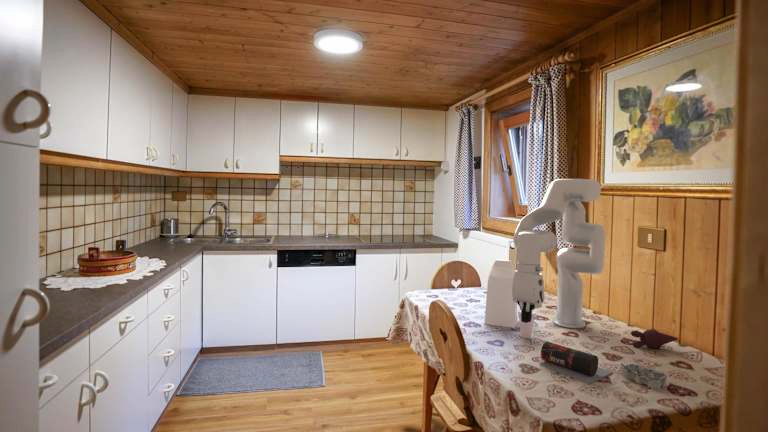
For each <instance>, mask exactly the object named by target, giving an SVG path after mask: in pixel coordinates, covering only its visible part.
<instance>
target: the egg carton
mask: <svg viewBox="0 0 768 432" xmlns="http://www.w3.org/2000/svg"><path fill="white" fill-rule="evenodd" d="M620 366H621V367H622V368H621V369H622V370H621V376H622V375H623V376H622V377H623V378H624V379H626V378H627V380H628V379H629V380H633V381H635V383H637V384H642V383H643V384H644V385H646V386H647V387H648V388H649V387H650V389H656V390H660V389H661V386H662V387H666V386H667V380H668V379H667V378H668V376H669V372H667V373H666V372H664V371H663V372H661V371H659V370H657V369H655V368H651V367H648V366H645V365H643V364H642V363H640V362H635V363H634V362H633V363H629V364H626V365H625V364H624V363H620ZM639 375H640V376H639ZM660 385H661V386H660Z"/></svg>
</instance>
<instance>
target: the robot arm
mask: <svg viewBox="0 0 768 432" xmlns="http://www.w3.org/2000/svg"><path fill="white" fill-rule="evenodd" d="M601 192H602V187H601V184H600V182H599V181H598V180H597V179H592V178H591V179H589V178H588V179H587V178H558V179H555V180H553V181H552V182H551V183H550V184H549V186H548V189H547V191H546V193H545V196H544V197H543V200H542V202H541V204H540V206H539V207H537V208H535V209H533V210H532V211H530V212H529V213H527V214H526V215H525V216H524V217H522V218H521V220H520V221H519V223H518V225H517V227H516V229H515V232H514V235H513V245H514V246H515V247H516V250H517V251H516V252H517V253H516V270H514V271H515V274H514V278H513V285H512V297H513V301H514V302H516V303H517V306H519V310H521V321H522V322H524V323H528V322H531V319H532V311H534V310H535V309H540V308H542V307H543V303H544V302H545V283H544V282H545V281H544V276H543V273H541V272H543V271H544V267H542V266H541V256H542V255H541V253H550V252H552V251H554V250H555V249H556V247H557V245H558V238H557V236H556V234H555V233H553V232H552V231H550V230H539V229H536V228H537V227H539V226H543V225H546V224H551V223H553V222H556V221H559V220H560V219H562V223H561V225H562V226H561V240H562V241H563V243H564V244H567V245H571V246H578V247H579V246H580V247H581V246H582V247H588V248H590V249H583V248H582V249H581V248H576V247H575V248H574V247H565V248H561V249H559V250H558V252H557V253H556V257H555V259H556V266H557V293H556V295H557V296H556V297H557V298H556V299H557V300H556V315H555V316H554V317H552V320H551V321H552V323H553V324H554V325H556V326H559V327H563V328H566V329H567V328H569V329H582V328H586V322H585V321H584V320H583V319H582V318H584V317H586V314H587V313H586V312H584V311H583V297H584V295H583V293H584V291H583V290H584V283H583V279H582V277H581V276H580V274H579V273H581V274H587V275H588V274H589V275H599V274H601V273H602V272H603V270H604V265H605V250H606V249H605V248H606V231H605V229H604V226H603V225H602V224H600V223H596V222H587V221H586V213H587V211H586V208H585V206H584V204H583V203H585V202H586V203H589V202H596V201H597V200H598V199H599V198H600V196H601ZM582 202H583V203H582Z"/></svg>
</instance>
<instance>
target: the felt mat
mask: <svg viewBox="0 0 768 432" xmlns="http://www.w3.org/2000/svg"><path fill="white" fill-rule="evenodd" d="M539 365H540V366H543V367H545V368H548V369H551V370H553V371H556V372H558V373H560V374H563V375H565V376H568V377H570V378H572V379H573V378H574V379H576V380H578V381H580V382H584V383H586V384H588V385H591V384H593V383H596V382H598V381H600V380H602V379H604V378H606V377H608V376H610V375H612V374H613V373H614V372H613V371H611V370H608V369H605V368H602V367H599V366H598V368H597V372H596V374H595V375H594V376H590V375H587V374H584V373H581V372H578V371H575V370H572V369H569V368H566V367H563V366H560V365H557V364H554V363H551V362H548V361H545V360H543V361H542V362H539Z"/></svg>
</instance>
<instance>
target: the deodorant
mask: <svg viewBox="0 0 768 432" xmlns="http://www.w3.org/2000/svg"><path fill="white" fill-rule="evenodd" d="M540 358H541V360H542V361H548V362H551V363H554V364H557V365H560V366H563V367H566V368H569V369H572V370H575V371H578V372H581V373H584V374H587V375H590V376H594V375H595V374H596V372H597V368H598V367H599V358H598V356H597V355H595V354H591V353H588V352H585V351H582V350H579V349H574V348H571V347H568V346H565V345H560V344H557V343H554V342H551V341H545V342H543V344H542V346H541V349H540Z"/></svg>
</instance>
